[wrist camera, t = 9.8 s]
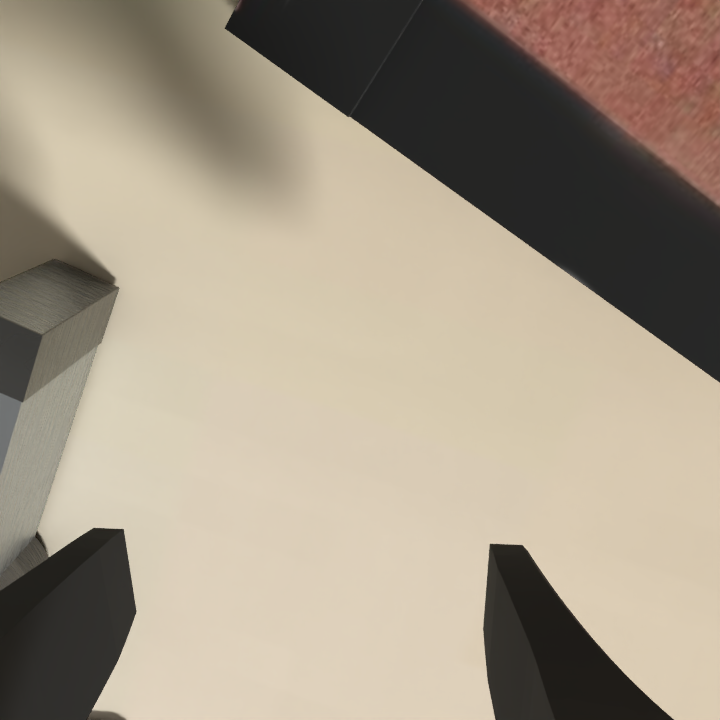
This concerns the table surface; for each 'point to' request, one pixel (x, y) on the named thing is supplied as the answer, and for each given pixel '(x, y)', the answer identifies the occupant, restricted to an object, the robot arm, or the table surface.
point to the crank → (41, 392)
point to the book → (544, 128)
